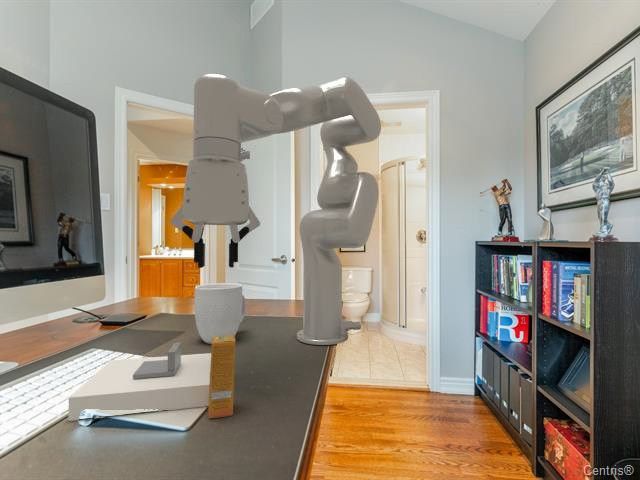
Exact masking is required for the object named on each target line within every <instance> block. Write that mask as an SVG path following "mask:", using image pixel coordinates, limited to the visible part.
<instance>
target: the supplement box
mask: <svg viewBox="0 0 640 480" xmlns="http://www.w3.org/2000/svg"><path fill="white" fill-rule="evenodd" d="M212 337H213V338H212V344H211V351H210V353H211V366H210V382H209V406H208V411H207V412H208V418H209V419H218V418H223V417H224V418H225V417H230V416H233V415H234V396H235V395H234V392H235V391H234V390H235V389H234V388H235V367H236V366H235V365H236V364H235V363H236V344H237V343H236V335H235V336H233V335H220V336H212Z"/></svg>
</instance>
